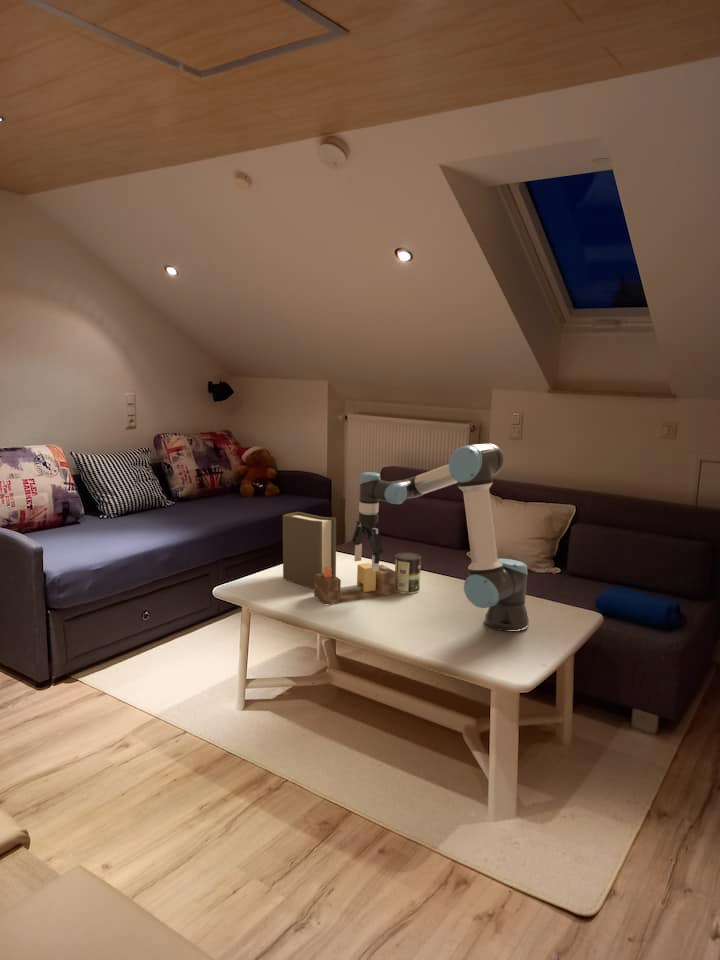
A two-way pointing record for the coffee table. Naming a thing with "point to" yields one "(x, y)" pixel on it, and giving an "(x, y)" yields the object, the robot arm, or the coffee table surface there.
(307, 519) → the book
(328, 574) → the orange peg
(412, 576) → the coffee can
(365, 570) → the carriage
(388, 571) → the wooden base
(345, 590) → the bar
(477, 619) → the coffee table surface
